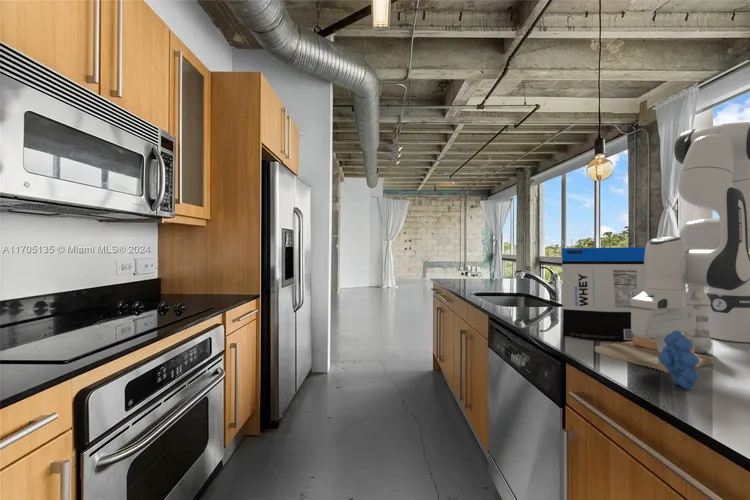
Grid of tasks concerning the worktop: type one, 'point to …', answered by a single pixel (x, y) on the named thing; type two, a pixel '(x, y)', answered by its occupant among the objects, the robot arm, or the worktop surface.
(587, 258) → the protein powder
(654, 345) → the link
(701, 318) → the plastic bottle
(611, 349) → the board
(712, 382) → the worktop surface
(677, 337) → the grapes
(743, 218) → the robot arm
